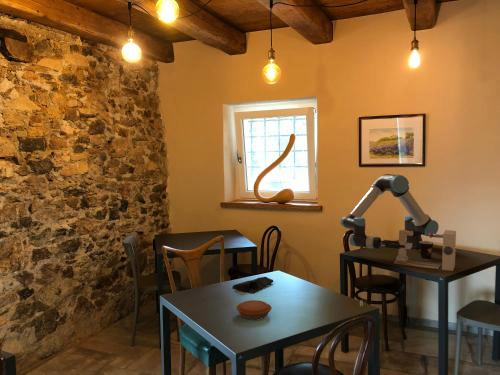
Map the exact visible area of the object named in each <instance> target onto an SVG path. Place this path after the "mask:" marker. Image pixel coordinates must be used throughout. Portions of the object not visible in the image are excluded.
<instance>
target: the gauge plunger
mask: <svg viewBox="0 0 500 375" xmlns="http://www.w3.org/2000/svg"><path fill="white" fill-rule="evenodd" d="M432 238H436V239H437V238H438V239H443V234H438V233H436V234H432V233H430V236H429V239H432Z"/></svg>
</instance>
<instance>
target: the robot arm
mask: <svg viewBox="0 0 500 375" xmlns="http://www.w3.org/2000/svg"><path fill="white" fill-rule="evenodd" d="M409 184H410V183H409V180H408V178H407V177H406V176H405V175H402V174H393V173H392V174H390V173H385V174H383V175H381V176H379V177H378V178H376V179H375V180H374V182H372V184H371V185H370V189H369V190H368V191H367V192H366V194H364V195H363V197H362V198H361V199H360V200H359V202H358V203H357V204H356V206H354V208H353V209H352V211H350V213H349V214H347V216H343V217H342V218H341V220H340V225H341V227H343V228H345V229H349V230H351V231H353V233H352V234H351V235H350V236H349V245H350V246H352V247H357V248H368V249H378V250H379V249H380V248H386V249H387V248H388V249H395V250H399V249H400V248H403V249H406V250H412V249H416V247H417V246H418V245H420V244H419V242H420V241H423V237H422V236H425V237H430V233H432V234H438V231H439V223H438V222H437V220H434V219H432V218H431V216H430V215H429V214H427V213H425V212H424V211H423V209H422V208H421V206H420V205H419V203H418V202H417V200H416V199H415V198H414V197H413V195H412V193H411V192H410V191H409V190H410V185H409ZM386 191H387V192H390V193H391V194H392V196H393V197H394V198H397V199H398V200H399V202H400V203H401V204H402V205H403V207H404V208H405V210H406V211H407V213H408V214H409V215H406V216H405V218H404V230H407V231H413V236H410V235H407V241H406V244H399V240H389V239H383V240H382V239H381V237H380V236H379V237H378V236H369V235H366V218H364V217H363V215H364V214H365V213H366V212H367V210H368V209H369V208H370V207H371V206H372V205H373V203H375V201H376V200H377V199H378V198H379V197H380V196H381V195H383V194H384V193H385V192H386ZM417 249H420V246H418V247H417Z"/></svg>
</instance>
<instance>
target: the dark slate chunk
mask: <svg viewBox="0 0 500 375" xmlns="http://www.w3.org/2000/svg"><path fill="white" fill-rule="evenodd" d="M273 283H274V279H272V278H270V277H267V276H261V277H257V278H255V279H254V278H253V279H250V280H246V281H243V282H239V283H236V284H233V285H232V289H233V290H236V291H238V292H242V293H247V294H255V293H256V292H259V291H261V290H262V289H264V288H267V287H268V286H270V285H271V284H273Z"/></svg>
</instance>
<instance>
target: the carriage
mask: <svg viewBox="0 0 500 375" xmlns="http://www.w3.org/2000/svg"><path fill="white" fill-rule="evenodd" d="M407 235H410V236H413V231H407V230H405V229H399V231H398V241H399V244H406V241H407ZM397 250H398V251H397V252H398V255H397V256H396V258H395V261H403V262H406V261H407V260H409V256H408V255H407V249H403V248H400V249H397Z"/></svg>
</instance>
